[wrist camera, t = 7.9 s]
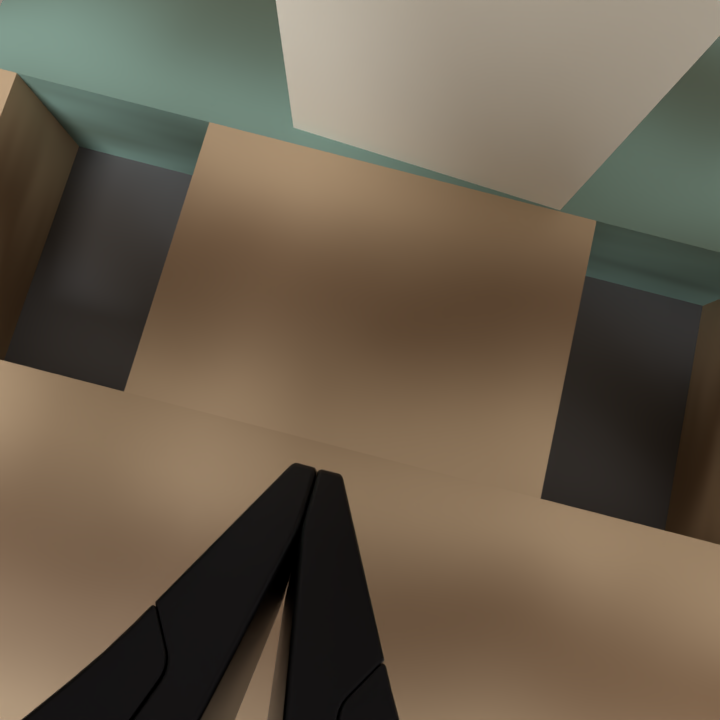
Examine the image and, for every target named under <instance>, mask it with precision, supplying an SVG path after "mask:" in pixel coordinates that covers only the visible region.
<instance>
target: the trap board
mask: <svg viewBox="0 0 720 720" xmlns="http://www.w3.org/2000/svg"><path fill="white" fill-rule="evenodd" d="M293 463H300V464H304V465H308V466H312V467H314V468H315V469H316V470H317V471H318V470H320V469H323V470H327V471H331V472H335V473H339V474H341V475H342V477H343V480H344V484H345V488H346V493H347V497H348V502H349V506H350V510H351V515H352V519H353V524H354V528H355V532H356V537H357V541H358V545H359V550H360V554H361V559H362V563H363V567H364V572H365V576H366V581H367V585H368V589H369V594H370V598H371V602H372V607H373V611H374V616H375V620H376V624H377V629H378V633H379V638H380V642H381V646H382V651H383V655H384V663H383V664H385V665H386V667H387V672H388V676H389V680H390V685H391V689H392V693H393V697H394V701H395V704H396V708H397V712H398V716H399V720H720V36H719V37H718V38H717V39H716V40H715V41H714V43H713V44H712V45H711V46H710V47H709V48H708V49H707V50H706V51H705V52H704V53H703V55H702V56H701V57H700V58H699V59H698V60H697V61H696V62H695V63H694V64H693V65H692V67H691V68H690V69H689V70H688V71H687V72H686V73H685V74H684V75H683V76H682V77H681V79H680V80H679V81H678V82H677V83H676V84H675V85H674V86H673V87H672V88H671V90H670V91H669V92H668V93H667V94H666V95H665V96H664V97H663V98H662V99H661V100H660V102H659V103H658V104H657V105H656V106H655V107H654V108H653V109H652V110H651V111H650V112H649V114H648V115H647V116H646V117H645V118H644V119H643V120H642V121H641V122H640V123H639V124H638V126H637V127H636V128H635V129H634V130H633V131H632V132H631V133H630V134H629V135H628V137H627V138H626V139H625V140H624V141H623V142H622V143H621V144H620V145H619V146H618V147H617V149H616V150H615V151H614V152H613V153H612V154H611V155H610V156H609V157H608V158H607V159H606V161H605V162H604V163H603V164H602V165H601V166H600V167H599V168H598V169H597V170H596V171H595V173H594V174H593V175H592V176H591V177H590V178H589V179H588V180H587V181H586V182H585V184H584V185H583V186H582V187H581V188H580V189H579V190H578V191H577V192H576V193H575V194H574V196H573V197H572V198H571V199H570V200H569V201H568V202H567V203H566V204H565V205H564V206H563V208H562V209H561V210H557V209H554V208H551V207H547V206H544V205H541V204H538V203H534V202H531V201H528V200H525V199H522V198H518V197H515V196H512V195H509V194H505V193H502V192H499V191H496V190H493V189H489V188H486V187H483V186H480V185H477V184H473V183H470V182H467V181H464V180H460V179H457V178H454V177H451V176H448V175H444V174H441V173H438V172H435V171H432V170H428V169H425V168H422V167H419V166H415V165H412V164H409V163H406V162H403V161H399V160H396V159H393V158H390V157H386V156H383V155H380V154H377V153H374V152H370V151H367V150H364V149H361V148H358V147H354V146H351V145H348V144H345V143H341V142H338V141H335V140H332V139H329V138H325V137H322V136H319V135H316V134H313V133H309V132H306V131H303V130H300V129H296V128H293V121H292V114H291V106H290V99H289V92H288V85H287V78H286V71H285V64H284V56H283V49H282V42H281V35H280V28H279V21H278V14H277V6H276V0H3V1H2V3H1V6H0V720H21V719H23V718H24V717H25V716H26V715H28V714H29V713H30V712H31V711H33V710H34V709H35V708H36V707H37V706H39V705H40V704H41V703H42V702H44V701H45V700H46V699H47V698H49V697H50V696H51V695H52V694H53V693H55V692H56V691H57V690H58V689H60V688H61V687H62V686H63V685H65V684H66V683H67V682H68V681H70V680H71V679H72V678H73V677H74V676H75V675H77V674H78V673H79V672H80V671H81V670H82V669H84V668H85V667H86V666H87V665H88V664H89V663H91V662H92V661H93V660H94V659H95V658H97V657H98V656H99V655H100V654H101V653H102V652H104V651H105V650H106V649H107V648H108V647H109V646H110V645H111V644H112V643H113V642H114V641H115V640H116V639H117V638H118V637H119V636H120V635H122V634H123V633H124V632H125V631H126V630H127V629H128V628H129V627H130V626H131V625H132V624H133V623H134V622H135V621H136V620H137V619H138V618H139V617H140V616H141V615H142V614H143V613H144V612H145V611H146V610H147V609H148V608H149V607H150V606H151V605H155V601H156V600H157V599H158V598H159V597H160V596H161V595H162V594H163V593H164V592H165V591H166V590H167V589H168V588H169V587H170V586H171V585H172V584H173V583H174V582H175V581H176V580H177V579H178V578H179V577H180V576H181V575H182V574H183V573H184V572H185V571H186V570H187V569H188V568H189V567H190V566H191V565H192V564H193V563H194V562H195V561H196V560H197V559H198V558H199V557H200V556H201V555H202V554H203V553H204V552H205V551H206V550H207V549H208V548H209V547H210V546H211V545H212V544H213V543H214V542H215V541H216V540H217V539H218V538H219V537H220V536H221V535H222V534H223V533H224V532H225V531H226V530H227V529H228V528H229V527H230V526H231V525H232V524H233V522H234V521H235V520H236V519H237V518H238V517H239V516H240V515H241V514H242V513H243V512H244V511H245V510H246V509H247V508H248V507H249V506H250V505H251V504H252V503H253V502H254V501H255V500H256V499H257V498H258V497H259V496H260V495H261V494H262V493H263V492H264V491H265V490H266V489H267V488H268V487H269V486H270V485H271V484H272V483H273V482H274V481H275V480H276V479H277V478H278V477H279V476H280V475H281V474H282V473H283V472H284V471H285V470H286V469H287V468H288V467H289V466H290V465H291V464H293ZM316 474H317V473H316ZM288 583H289V582H288ZM287 587H288V585H287ZM286 591H287V589H286ZM285 596H286V592H285V595H284V598H283V601H282V604H281V607H280V609H279V612H278V614H277V617H276V619H275V622H274V624H273V627H272V629H271V632H270V634H269V637H268V639H267V642H266V644H265V647H264V649H263V651H262V654H261V656H260V659H259V661H258V664H257V666H256V669H255V671H254V674H253V676H252V679H251V681H250V684H249V686H248V689H247V691H246V694H245V696H244V698H243V701H242V703H241V706H240V708H239V711H238V713H237V716H236V718H235V720H267V718H268V711H269V704H270V697H271V690H272V683H273V676H274V669H275V662H276V655H277V648H278V641H279V634H280V627H281V620H282V613H283V607H284V601H285Z"/></svg>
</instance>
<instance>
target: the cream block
mask: <svg viewBox="0 0 720 720" xmlns="http://www.w3.org/2000/svg"><path fill="white" fill-rule="evenodd" d="M276 6H277V14H278V21H279V28H280V35H281V42H282V49H283V56H284V64H285V71H286V78H287V85H288V92H289V99H290V106H291V114H292V121H293V128H296V129H300V130H303V131H306V132H309V133H313V134H316V135H319V136H322V137H325V138H329V139H332V140H335V141H338V142H341V143H345V144H348V145H351V146H354V147H358V148H361V149H364V150H367V151H370V152H374V153H377V154H380V155H383V156H386V157H390V158H393V159H396V160H399V161H403V162H406V163H409V164H412V165H415V166H419V167H422V168H425V169H428V170H432V171H435V172H438V173H441V174H444V175H448V176H451V177H454V178H457V179H460V180H464V181H467V182H470V183H473V184H477V185H480V186H483V187H486V188H489V189H493V190H496V191H499V192H502V193H505V194H509V195H512V196H515V197H518V198H522V199H525V200H528V201H531V202H534V203H538V204H541V205H544V206H547V207H551V208H554V209H557V210H561V209H562V208H563V206H564V205H565V204H566V203H567V202H568V201H569V200H570V199H571V198H572V197H573V196H574V194H575V193H576V192H577V191H578V190H579V189H580V188H581V187H582V186H583V185H584V184H585V182H586V181H587V180H588V179H589V178H590V177H591V176H592V175H593V174H594V173H595V171H596V170H597V169H598V168H599V167H600V166H601V165H602V164H603V163H604V162H605V161H606V159H607V158H608V157H609V156H610V155H611V154H612V153H613V152H614V151H615V150H616V149H617V147H618V146H619V145H620V144H621V143H622V142H623V141H624V140H625V139H626V138H627V137H628V135H629V134H630V133H631V132H632V131H633V130H634V129H635V128H636V127H637V126H638V124H639V123H640V122H641V121H642V120H643V119H644V118H645V117H646V116H647V115H648V114H649V112H650V111H651V110H652V109H653V108H654V107H655V106H656V105H657V104H658V103H659V102H660V100H661V99H662V98H663V97H664V96H665V95H666V94H667V93H668V92H669V91H670V90H671V88H672V87H673V86H674V85H675V84H676V83H677V82H678V81H679V80H680V79H681V77H682V76H683V75H684V74H685V73H686V72H687V71H688V70H689V69H690V68H691V67H692V65H693V64H694V63H695V62H696V61H697V60H698V59H699V58H700V57H701V56H702V55H703V53H704V52H705V51H706V50H707V49H708V48H709V47H710V46H711V45H712V44H713V43H714V41H715V40H716V39H717V38H718V37H719V36H720V0H276Z"/></svg>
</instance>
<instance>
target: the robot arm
mask: <svg viewBox="0 0 720 720" xmlns="http://www.w3.org/2000/svg"><path fill="white" fill-rule="evenodd" d="M316 473H317V474H316ZM288 582H289V583H288ZM287 585H288V587H287ZM286 589H287V591H286ZM285 592H286V596H285V601H284V607H283V613H282V620H281V627H280V634H279V641H278V648H277V655H276V662H275V669H274V676H273V683H272V690H271V697H270V704H269V711H268V718H267V720H399V716H398V712H397V708H396V704H395V701H394V697H393V693H392V689H391V685H390V680H389V676H388V672H387V667H386V665H385V664H383V663H384V655H383V651H382V646H381V642H380V638H379V633H378V629H377V624H376V620H375V616H374V611H373V607H372V602H371V598H370V594H369V589H368V585H367V581H366V576H365V572H364V567H363V563H362V559H361V554H360V550H359V545H358V541H357V537H356V532H355V528H354V524H353V519H352V515H351V510H350V506H349V502H348V497H347V493H346V488H345V484H344V480H343V477H342V475H341V474H339V473H335V472H331V471H327V470H323V469H320V470H318V471H317V470H316V469H315V468H314V467H312V466H308V465H304V464H300V463H293V464H291V465H290V466H289V467H288V468H287V469H286V470H285V471H284V472H283V473H282V474H281V475H280V476H279V477H278V478H277V479H276V480H275V481H274V482H273V483H272V484H271V485H270V486H269V487H268V488H267V489H266V490H265V491H264V492H263V493H262V494H261V495H260V496H259V497H258V498H257V499H256V500H255V501H254V502H253V503H252V504H251V505H250V506H249V507H248V508H247V509H246V510H245V511H244V512H243V513H242V514H241V515H240V516H239V517H238V518H237V519H236V520H235V521H234V522H233V524H232V525H231V526H230V527H229V528H228V529H227V530H226V531H225V532H224V533H223V534H222V535H221V536H220V537H219V538H218V539H217V540H216V541H215V542H214V543H213V544H212V545H211V546H210V547H209V548H208V549H207V550H206V551H205V552H204V553H203V554H202V555H201V556H200V557H199V558H198V559H197V560H196V561H195V562H194V563H193V564H192V565H191V566H190V567H189V568H188V569H187V570H186V571H185V572H184V573H183V574H182V575H181V576H180V577H179V578H178V579H177V580H176V581H175V582H174V583H173V584H172V585H171V586H170V587H169V588H168V589H167V590H166V591H165V592H164V593H163V594H162V595H161V596H160V597H159V598H158V599H157V600H156V601H155V605H151V606H150V607H149V608H148V609H147V610H146V611H145V612H144V613H143V614H142V615H141V616H140V617H139V618H138V619H137V620H136V621H135V622H134V623H133V624H132V625H131V626H130V627H129V628H128V629H127V630H126V631H125V632H124V633H123V634H122V635H120V636H119V637H118V638H117V639H116V640H115V641H114V642H113V643H112V644H111V645H110V646H109V647H108V648H107V649H106V650H105V651H104V652H102V653H101V654H100V655H99V656H98V657H97V658H95V659H94V660H93V661H92V662H91V663H89V664H88V665H87V666H86V667H85V668H84V669H82V670H81V671H80V672H79V673H78V674H77V675H75V676H74V677H73V678H72V679H71V680H70V681H68V682H67V683H66V684H65V685H63V686H62V687H61V688H60V689H58V690H57V691H56V692H55V693H53V694H52V695H51V696H50V697H49V698H47V699H46V700H45V701H44V702H42V703H41V704H40V705H39V706H37V707H36V708H35V709H34V710H33V711H31V712H30V713H29V714H28V715H26V716H25V717H24V718H23V719H21V720H235V718H236V716H237V713H238V711H239V708H240V706H241V703H242V701H243V698H244V696H245V694H246V691H247V689H248V686H249V684H250V681H251V679H252V676H253V674H254V671H255V669H256V666H257V664H258V661H259V659H260V656H261V654H262V651H263V649H264V647H265V644H266V642H267V639H268V637H269V634H270V632H271V629H272V627H273V624H274V622H275V619H276V617H277V614H278V612H279V609H280V607H281V604H282V601H283V598H284V595H285Z"/></svg>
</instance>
